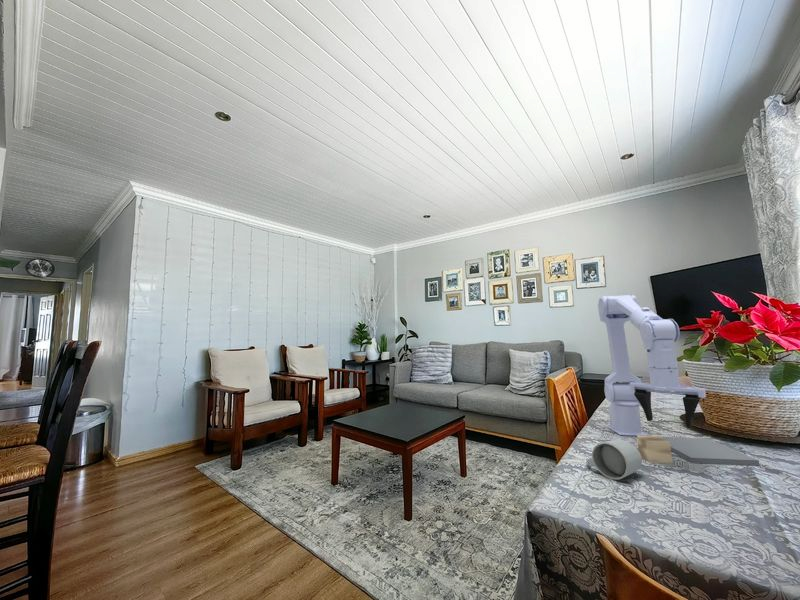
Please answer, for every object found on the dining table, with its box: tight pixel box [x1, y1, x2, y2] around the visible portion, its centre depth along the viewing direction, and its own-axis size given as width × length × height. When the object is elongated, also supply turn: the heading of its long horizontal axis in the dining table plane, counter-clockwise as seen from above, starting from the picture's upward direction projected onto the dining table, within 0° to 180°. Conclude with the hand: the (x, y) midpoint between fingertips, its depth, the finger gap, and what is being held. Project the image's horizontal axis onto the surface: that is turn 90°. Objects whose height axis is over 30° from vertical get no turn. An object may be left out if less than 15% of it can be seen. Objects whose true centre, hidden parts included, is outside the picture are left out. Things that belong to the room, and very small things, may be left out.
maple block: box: [636, 435, 673, 464], centre depth 82 cm, size 5×5×5 cm
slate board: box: [660, 436, 760, 466], centre depth 85 cm, size 16×14×1 cm
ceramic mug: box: [586, 439, 643, 481], centre depth 75 cm, size 11×8×8 cm
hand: (668, 423), depth 79 cm, fingers open, 7 cm apart
